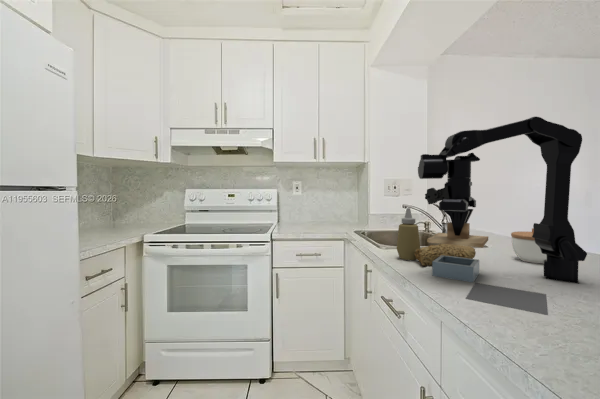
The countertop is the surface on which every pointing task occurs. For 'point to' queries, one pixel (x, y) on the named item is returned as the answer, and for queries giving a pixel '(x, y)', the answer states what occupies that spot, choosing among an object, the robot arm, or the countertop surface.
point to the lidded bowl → (527, 247)
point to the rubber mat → (509, 298)
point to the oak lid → (458, 237)
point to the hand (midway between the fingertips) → (458, 234)
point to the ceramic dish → (456, 268)
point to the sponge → (443, 252)
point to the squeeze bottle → (408, 237)
